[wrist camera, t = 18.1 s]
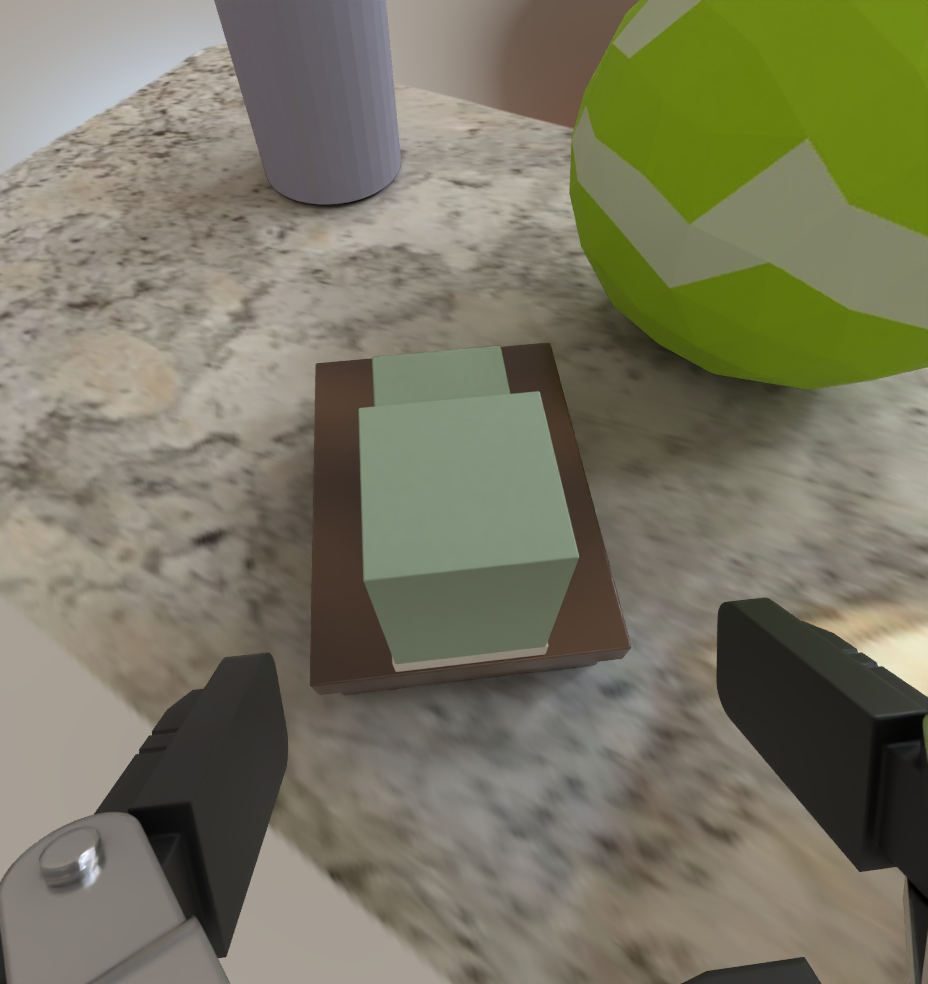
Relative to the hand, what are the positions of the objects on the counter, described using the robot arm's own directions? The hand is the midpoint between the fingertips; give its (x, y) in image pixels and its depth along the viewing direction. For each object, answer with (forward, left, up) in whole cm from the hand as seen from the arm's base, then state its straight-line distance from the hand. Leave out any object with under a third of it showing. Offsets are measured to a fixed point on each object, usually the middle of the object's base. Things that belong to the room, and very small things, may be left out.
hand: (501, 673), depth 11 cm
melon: (-27, -11, -15) cm, 33 cm away
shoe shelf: (-5, -10, -15) cm, 19 cm away
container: (-14, -42, -15) cm, 46 cm away
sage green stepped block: (-4, -8, -11) cm, 15 cm away
